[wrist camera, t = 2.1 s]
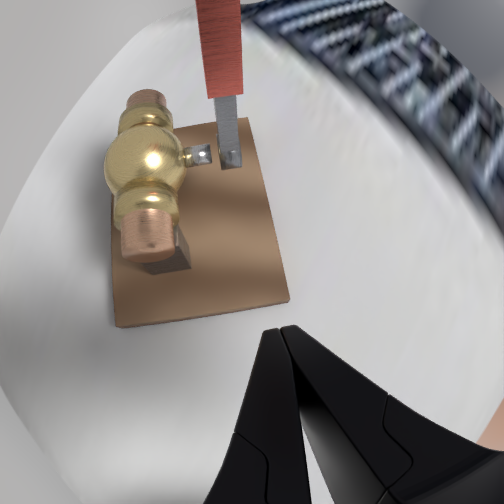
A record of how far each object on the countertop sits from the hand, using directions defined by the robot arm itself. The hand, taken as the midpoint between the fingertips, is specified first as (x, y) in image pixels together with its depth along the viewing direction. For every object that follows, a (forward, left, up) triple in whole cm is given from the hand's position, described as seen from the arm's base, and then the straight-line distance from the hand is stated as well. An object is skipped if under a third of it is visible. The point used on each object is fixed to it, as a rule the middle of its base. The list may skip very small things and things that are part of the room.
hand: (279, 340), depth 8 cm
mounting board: (+4, +11, -14) cm, 18 cm away
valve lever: (+7, +9, -8) cm, 13 cm away
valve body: (+3, +11, -12) cm, 17 cm away
